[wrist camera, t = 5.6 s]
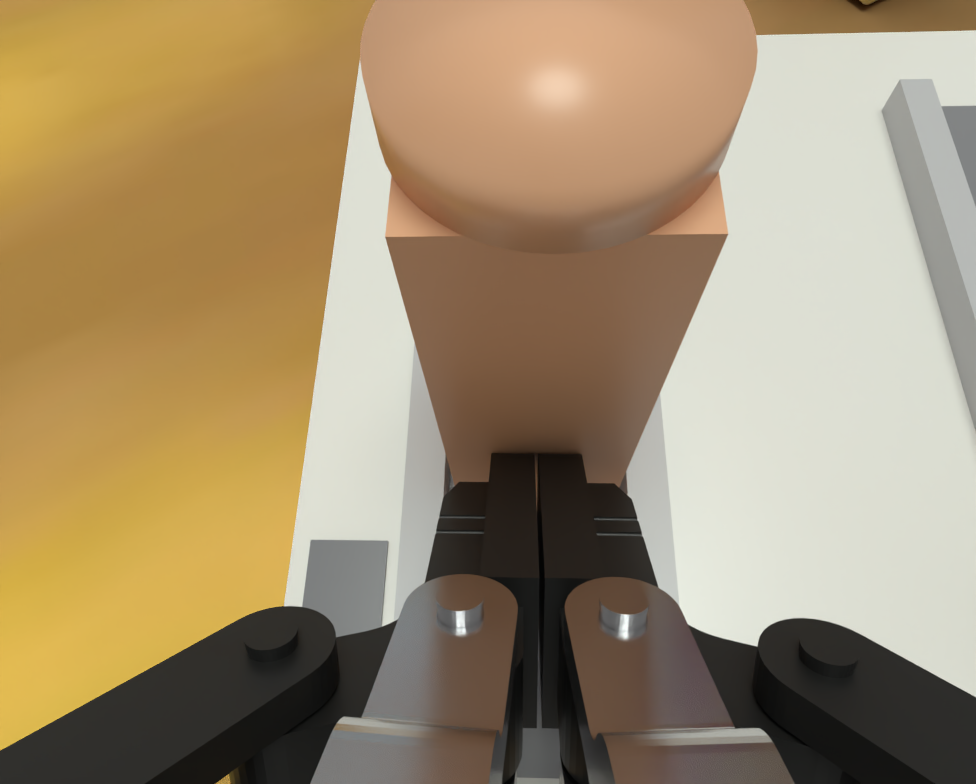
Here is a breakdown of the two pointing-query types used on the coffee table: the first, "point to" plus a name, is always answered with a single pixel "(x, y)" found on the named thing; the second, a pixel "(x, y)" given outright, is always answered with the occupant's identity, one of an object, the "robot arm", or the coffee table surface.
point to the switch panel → (727, 378)
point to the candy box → (867, 1)
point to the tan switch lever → (553, 207)
